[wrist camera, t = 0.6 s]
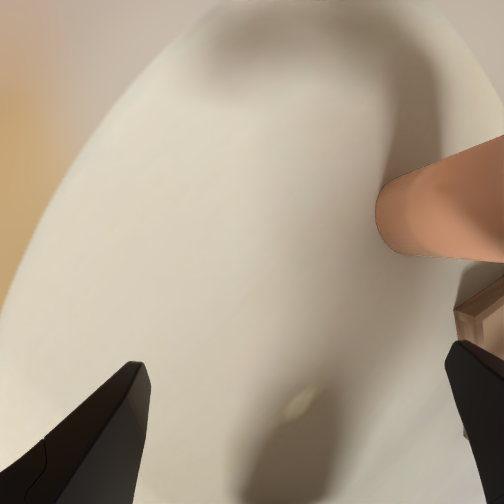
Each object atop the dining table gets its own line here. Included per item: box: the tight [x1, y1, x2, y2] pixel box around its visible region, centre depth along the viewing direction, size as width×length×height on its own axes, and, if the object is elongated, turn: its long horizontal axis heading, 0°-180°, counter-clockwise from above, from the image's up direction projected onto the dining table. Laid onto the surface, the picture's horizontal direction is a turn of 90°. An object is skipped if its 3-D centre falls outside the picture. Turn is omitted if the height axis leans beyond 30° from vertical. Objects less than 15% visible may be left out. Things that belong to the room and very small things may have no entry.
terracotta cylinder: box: [375, 135, 504, 263], centre depth 15 cm, size 6×6×12 cm
